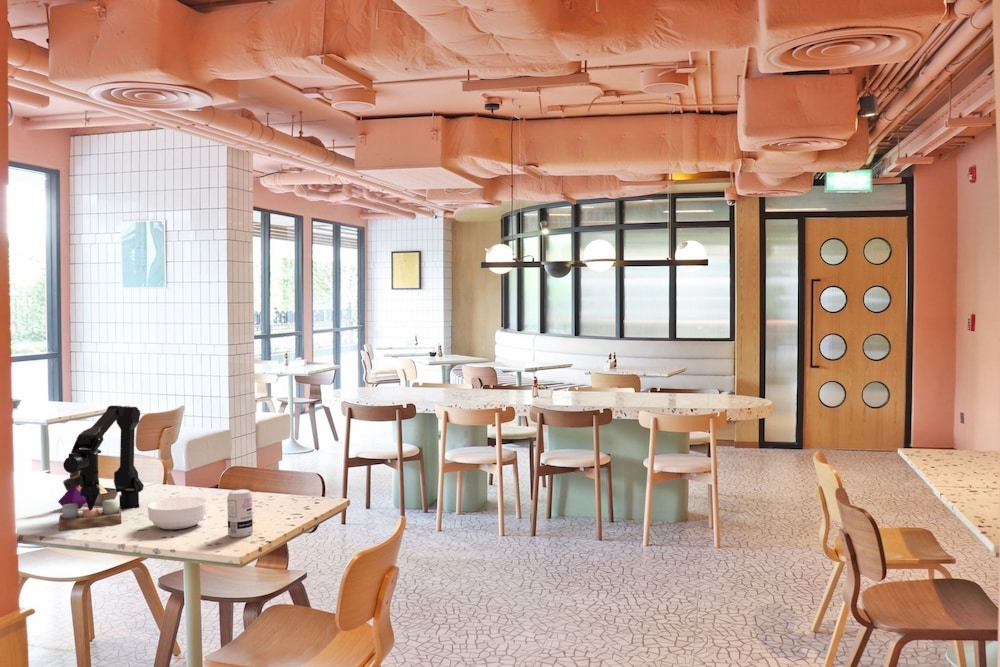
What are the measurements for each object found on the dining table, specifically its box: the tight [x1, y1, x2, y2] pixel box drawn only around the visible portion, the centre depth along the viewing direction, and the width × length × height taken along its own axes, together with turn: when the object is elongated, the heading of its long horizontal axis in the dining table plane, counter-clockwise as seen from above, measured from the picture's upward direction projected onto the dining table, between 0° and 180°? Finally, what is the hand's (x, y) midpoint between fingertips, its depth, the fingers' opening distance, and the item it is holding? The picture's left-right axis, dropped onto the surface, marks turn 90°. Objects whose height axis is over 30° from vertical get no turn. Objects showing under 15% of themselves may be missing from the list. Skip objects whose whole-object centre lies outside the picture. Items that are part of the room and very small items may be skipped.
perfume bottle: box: [58, 471, 87, 509], centre depth 316 cm, size 8×8×18 cm
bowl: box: [147, 496, 208, 530], centre depth 289 cm, size 20×20×8 cm
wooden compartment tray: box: [58, 507, 122, 531], centre depth 294 cm, size 20×12×3 cm, turn 117°
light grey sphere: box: [61, 503, 79, 520], centre depth 291 cm, size 5×5×5 cm
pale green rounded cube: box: [101, 498, 119, 515], centre depth 297 cm, size 5×5×5 cm
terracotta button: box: [82, 507, 99, 517], centre depth 294 cm, size 5×5×5 cm
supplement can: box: [226, 488, 254, 538], centre depth 278 cm, size 8×8×15 cm
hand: (90, 509), depth 294 cm, fingers closed, pressing on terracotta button
